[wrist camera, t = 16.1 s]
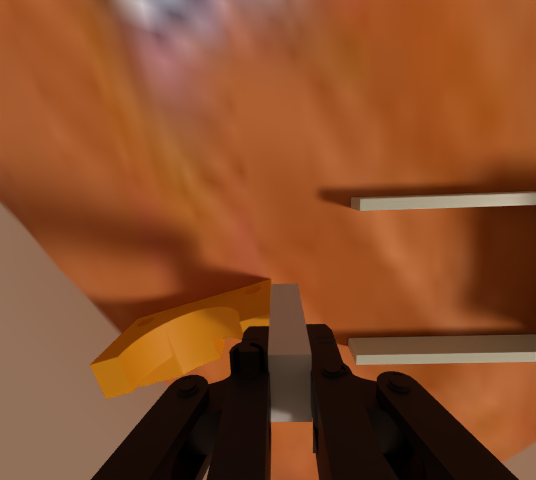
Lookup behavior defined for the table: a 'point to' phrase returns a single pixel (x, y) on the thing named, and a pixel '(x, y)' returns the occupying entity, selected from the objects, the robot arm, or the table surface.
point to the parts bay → (443, 346)
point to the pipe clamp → (180, 339)
